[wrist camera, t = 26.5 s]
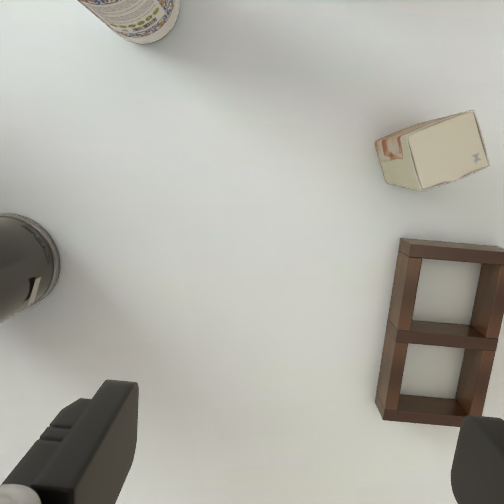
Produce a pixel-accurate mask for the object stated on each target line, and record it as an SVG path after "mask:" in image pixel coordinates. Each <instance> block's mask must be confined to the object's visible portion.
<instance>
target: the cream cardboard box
mask: <svg viewBox="0 0 504 504" xmlns="http://www.w3.org/2000/svg"><path fill="white" fill-rule="evenodd" d="M375 146H376V149H377V153H378V157H379V160H380V164H381V167H382V170H383V173H384V177H385V180H386V183H387V184H391V185H396V186H401V187H405V188H410V189H415V190H420V191H426V190H429V189H432V188H435V187H438V186H441V185H444V184H447V183H450V182H453V181H456V180H458V179H461V178H463V177H466V176H468V175H471V174H473V173H475V172H478V171H480V170H483V169H485V168H487V167H489V161H488V157H487V153H486V149H485V145H484V141H483V138H482V134H481V130H480V127H479V124H478V121H477V118H476V115H475V112H474V110H469V111H466V112H462V113H458V114H454V115H450V116H446V117H442V118H438V119H434V120H430V121H426V122H423V123H420V124H417V125H414V126H411V127H409V128H406V129H403V130H401V131H398V132H396V133H393V134H391V135H388V136H386V137H384V138H381V139H379V140H377V141H376V142H375Z"/></svg>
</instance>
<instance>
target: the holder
mask: <svg viewBox="0 0 504 504" xmlns="http://www.w3.org/2000/svg"><path fill="white" fill-rule="evenodd" d="M422 258H426V259H437V260H449V261H461V262H472V263H482V267H481V272H480V277H479V283H478V288H477V293H476V298H475V303H474V308H473V313H472V318H471V323H470V325H459V324H448V323H436V322H425V321H413V320H412V316H413V310H414V304H415V298H416V292H417V286H418V280H419V274H420V268H421V262H422ZM503 314H504V249H503V248H501V247H498V246H487V245H476V244H464V243H452V242H440V241H428V240H417V239H405V238H401V239H400V245H399V251H398V258H397V264H396V271H395V277H394V283H393V290H392V296H391V303H390V309H389V316H388V321H387V328H386V329H387V330H386V334H385V341H384V347H383V353H382V360H381V366H380V373H379V379H378V386H377V393H376V399H375V403H376V406H377V408H378V410H379V412H380V414H381V417H382V419H383V420H388V421H399V422H410V423H422V424H433V425H444V426H455V427H461V423H462V420H463V419H464V417H465V416H467V415H473V416H482V412H483V407H484V402H485V398H486V393H487V388H488V384H489V379H490V374H491V370H492V365H493V360H494V356H495V351H496V347H497V343H498V337H499V332H500V328H501V323H502V318H503ZM408 343H412V344H423V345H435V346H446V347H457V348H465V353H464V358H463V363H462V368H461V373H460V378H459V383H458V388H457V394H456V400H455V399H444V398H432V397H421V396H410V395H399V394H400V388H401V382H402V376H403V370H404V365H405V359H406V353H407V347H408Z"/></svg>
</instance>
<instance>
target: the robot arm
mask: <svg viewBox="0 0 504 504" xmlns="http://www.w3.org/2000/svg"><path fill="white" fill-rule="evenodd" d="M59 270H60V261H59V255H58V251H57V248H56V246H55V244H54V242H53V240H52V239H51V237H50V236H49V234H48V233H47V232H46V231H45V230H44V229H43V228H42V227H41V226H40V225H38V224H37V223H35V222H34V221H32V220H30V219H28V218H26V217H23V216H20V215H15V214H0V323H2V322H3V321H5V320H7V319H8V318H10V317H12V316H13V315H15V314H16V313H18V312H20V311H22V310H23V309H25V308H26V307H28V306H31V305H33V304H35V303H37V302H38V301H40V300H41V299H43V298H44V297H46V296H47V295H48V294H49V293H50V292H51V290H52V289H53V287H54V286H55V284H56V282H57V279H58V276H59ZM138 397H139V387H138V383H137V382H128V381H117V380H106V381H105V382H104V383H103V384H102V386H101V387H100V388H99V390H98V391H97V393H96V394H95V395H94V397H93V398H92V399H82V398H80V399H78V400H77V401H75V402H73V403H72V404H70V405H69V406H67V407H65V408H64V409H62V410H61V411H60V412H59V414H58V415H57V416H56V417H55V419H54V420H53V421H52V422H51V424H50V427H47V429H46V430H45V431H44V432H43V434H42V435H41V436H40V439H39V440H37V441H36V442H35V443H34V445H33V446H32V447H31V448H30V450H29V451H28V452H27V453H26V455H25V456H24V457H23V458H22V460H21V461H20V462H19V463H18V465H17V466H16V467H15V468H14V470H13V471H12V472H11V473H10V474H9V476H8V477H7V478H6V479H5V481H4V482H3V483H2V484H1V485H0V504H115V503H116V500H117V498H118V496H119V493H120V491H121V489H122V486H123V484H124V482H125V479H126V477H127V475H128V472H129V470H130V468H131V465H132V462H133V458H134V454H135V449H136V441H137V421H138ZM451 485H452V490H453V494H454V497H455V499H456V501H457V503H458V504H504V421H503V420H502V419H500V418H494V417H483V416H473V415H467V416H465V417H464V419H463V420H462V423H461V427H460V432H459V436H458V441H457V446H456V450H455V455H454V460H453V464H452V469H451Z"/></svg>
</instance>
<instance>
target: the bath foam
mask: <svg viewBox="0 0 504 504" xmlns="http://www.w3.org/2000/svg"><path fill="white" fill-rule="evenodd" d="M78 1H79V2H80V3H81V4H82V5H84V6H85V7H86V8H87V9H88V10H89V11H91V12H92V13H93V14H94V15H95V16H96V17H98V18H99V19H100V20H101V21H102V22H103V23H105V24H106V25H107V26H108V27H109V28H111V29H112V30H113V31H114V32H115V33H116V34H118V35H119V36H120V37H122V38H124V39H126V40H128V41H130V42H134V43H140V44H145V43H151V42H155V41H157V40H159V39H161V38H162V37H164V36H165V35H166V34H167V33H168V32H169V31H170V30H171V29H172V27H173V26H174V24H175V22H176V20H177V17H178V14H179V8H180V0H78Z"/></svg>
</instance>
